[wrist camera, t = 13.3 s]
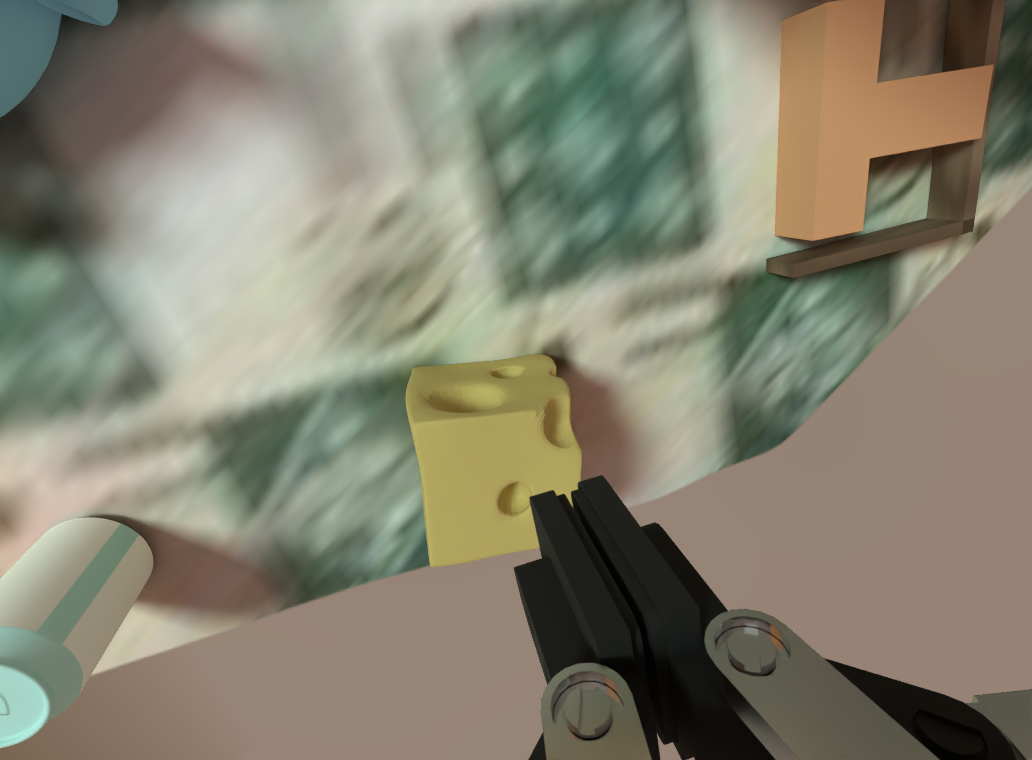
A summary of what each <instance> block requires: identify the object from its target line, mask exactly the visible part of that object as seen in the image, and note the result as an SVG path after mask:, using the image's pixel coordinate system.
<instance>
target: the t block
mask: <svg viewBox="0 0 1032 760" xmlns="http://www.w3.org/2000/svg"><path fill="white" fill-rule="evenodd" d="M884 6H885V0H839V1H831V2H826V3H824V4H821V5H819V6H817V7H814V8H812V9H809V10H807V11H804V12H802V13H799V14H797V15H794V16H792V17H789V18H787V19H785V20H782V42H781V70H780V99H779V128H778V157H777V185H776V214H775V236H782V237H789V238H796V239H804V240H811V241H814V240H819V239H824V238H829V237H834V236H839V235H844V234H849V233H853V232H858V231H863V224H864V213H865V203H866V193H867V182H868V172H869V162H870V158H874V157H880V156H885V155H891V154H896V153H902V152H907V151H913V150H918V149H924V148H929V147H935V146H940V145H946V144H951V143H957V142H962V141H968V140H973V139H979V138H981V137H982V131H983V126H984V120H985V114H986V108H987V102H988V96H989V90H990V84H991V78H992V72H993V66H994V64H993V65H987V66H981V67H974V68H968V69H962V70H955V71H949V72H943V73H936V74H930V75H924V76H917V77H911V78H905V79H898V80H892V81H886V82H879V83H877V79H878V68H879V58H880V48H881V37H882V27H883V17H884Z"/></svg>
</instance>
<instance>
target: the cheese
mask: <svg viewBox="0 0 1032 760" xmlns="http://www.w3.org/2000/svg"><path fill="white" fill-rule="evenodd" d="M556 372H557V370H556V365H555V363H554V361H553V360H552V359H551V358H550V357H549V356H546V355H543V354H534V355H527V356H522V357H516V358H510V359H504V360H495V361H483V362H472V363H461V364H449V365H435V366H422V367H414V368H413V369H412V374H411V377H410V380H409V382H408V386H407V391H406V407H407V414H408V418H409V423H410V427H411V432H412V436H413V440H414V444H415V448H416V453H417V457H418V462H419V467H420V473H421V487H422V497H423V508H424V517H425V526H426V535H427V544H428V553H429V561H430V566H431V567H438V566H447V565H454V564H459V563H466V562H470V561H474V560H479V559H484V558H488V557H493V556H497V555H503V554H508V553H513V552H518V551H524V550H531V549H537V548H540V547H539V542H538V537H537V533H536V528H535V524H534V519H533V515H532V510H531V505H530V500H529V497H531V496H534V495H537V494H541V493H544V492H547V491H551V490H554V491H555V493H556V495H561V494H565V495H566V496H567V498H568V500H569V502H570V504H571V505H572V507H573V504H572V499H571V491H574V490H577V489H578V482H580V481H581V475H582V451H581V447H580V445H579V443H578V441H577V439H576V437H575V435H574V432H573V429H572V425H571V391H570V388H569V385H568V384H567V382H566V381H565V380H564V379H563V378H559V377H556Z"/></svg>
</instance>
